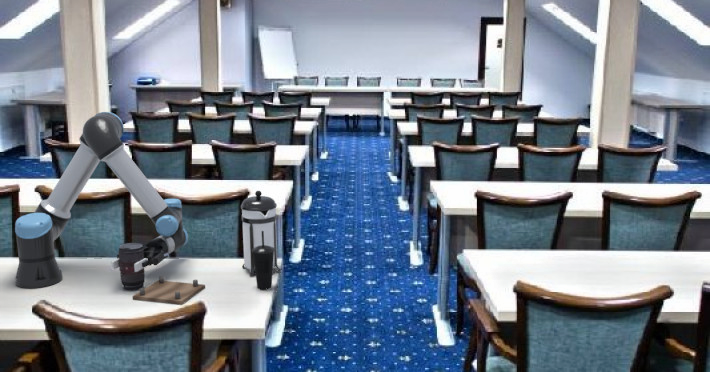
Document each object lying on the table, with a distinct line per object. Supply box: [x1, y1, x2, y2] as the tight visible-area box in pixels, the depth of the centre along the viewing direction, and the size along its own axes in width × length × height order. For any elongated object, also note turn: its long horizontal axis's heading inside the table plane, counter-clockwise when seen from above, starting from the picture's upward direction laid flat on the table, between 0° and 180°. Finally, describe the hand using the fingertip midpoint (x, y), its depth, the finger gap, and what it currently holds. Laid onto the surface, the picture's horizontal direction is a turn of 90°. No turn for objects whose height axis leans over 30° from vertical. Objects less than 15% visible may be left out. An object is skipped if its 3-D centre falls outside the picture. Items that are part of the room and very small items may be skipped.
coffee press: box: [240, 190, 281, 277], centre depth 264 cm, size 17×16×30 cm
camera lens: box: [118, 242, 146, 292], centre depth 247 cm, size 8×8×15 cm
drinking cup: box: [252, 231, 275, 291], centre depth 246 cm, size 8×8×20 cm
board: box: [132, 276, 206, 305], centre depth 243 cm, size 18×16×3 cm
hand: (123, 266), depth 243 cm, fingers closed on camera lens, 8 cm apart
